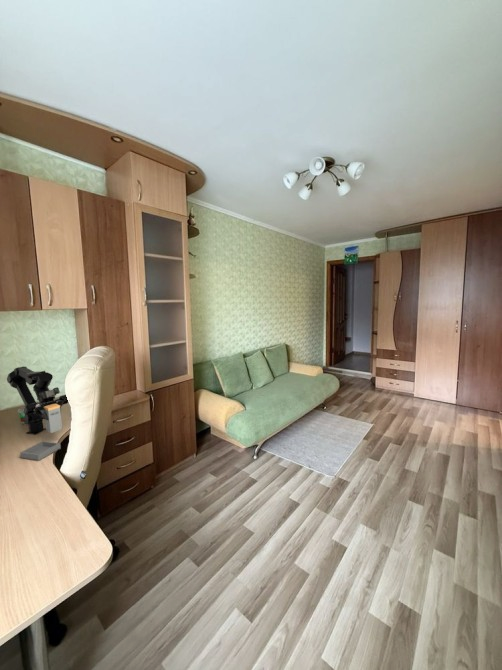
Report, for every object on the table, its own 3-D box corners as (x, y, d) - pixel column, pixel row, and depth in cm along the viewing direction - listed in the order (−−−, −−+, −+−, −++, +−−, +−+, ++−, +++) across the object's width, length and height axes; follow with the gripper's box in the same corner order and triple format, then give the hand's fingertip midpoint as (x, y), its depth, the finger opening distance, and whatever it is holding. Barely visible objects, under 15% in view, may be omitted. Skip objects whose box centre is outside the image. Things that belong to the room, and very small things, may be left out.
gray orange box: (46, 430, 134) (43, 406, 133) (58, 426, 139) (55, 403, 137) (51, 433, 131) (48, 409, 130) (62, 429, 135) (60, 405, 134)
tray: (20, 458, 122) (20, 452, 122) (43, 446, 133) (42, 440, 132) (38, 461, 120) (38, 455, 120) (60, 448, 130) (60, 443, 130)
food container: (27, 426, 155) (25, 409, 154) (19, 425, 156) (17, 409, 155) (47, 417, 167) (45, 402, 166) (39, 416, 168) (37, 401, 167)
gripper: (22, 388, 127) (34, 416, 122) (67, 379, 142) (78, 403, 137) (19, 401, 132) (30, 428, 127) (62, 391, 148) (73, 414, 143)
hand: (54, 417), depth 134 cm, fingers closed on gray orange box, 5 cm apart
